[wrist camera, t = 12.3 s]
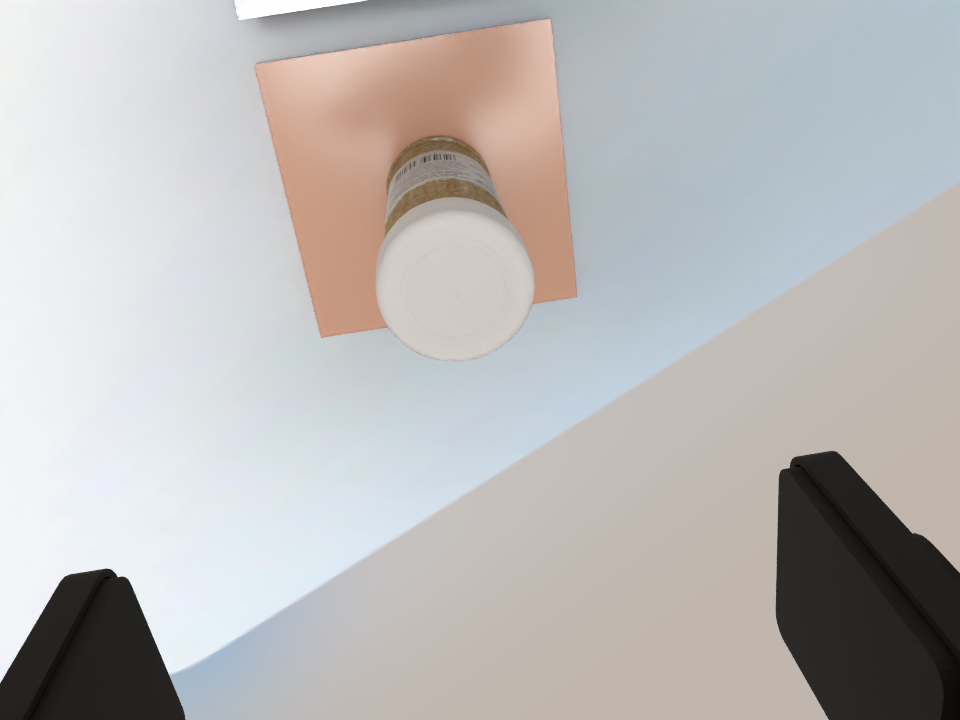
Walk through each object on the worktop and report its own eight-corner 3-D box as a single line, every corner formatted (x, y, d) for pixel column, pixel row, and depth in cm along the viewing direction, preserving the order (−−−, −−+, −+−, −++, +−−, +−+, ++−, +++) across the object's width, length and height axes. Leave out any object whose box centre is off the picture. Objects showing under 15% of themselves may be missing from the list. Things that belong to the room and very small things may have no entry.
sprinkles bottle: (392, 241, 36) (382, 372, 23) (381, 135, 34) (365, 218, 21) (495, 233, 36) (539, 360, 24) (490, 128, 34) (535, 206, 22)
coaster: (548, 18, 33) (550, 18, 32) (574, 292, 38) (577, 296, 37) (256, 63, 33) (254, 64, 32) (322, 332, 38) (321, 337, 37)
